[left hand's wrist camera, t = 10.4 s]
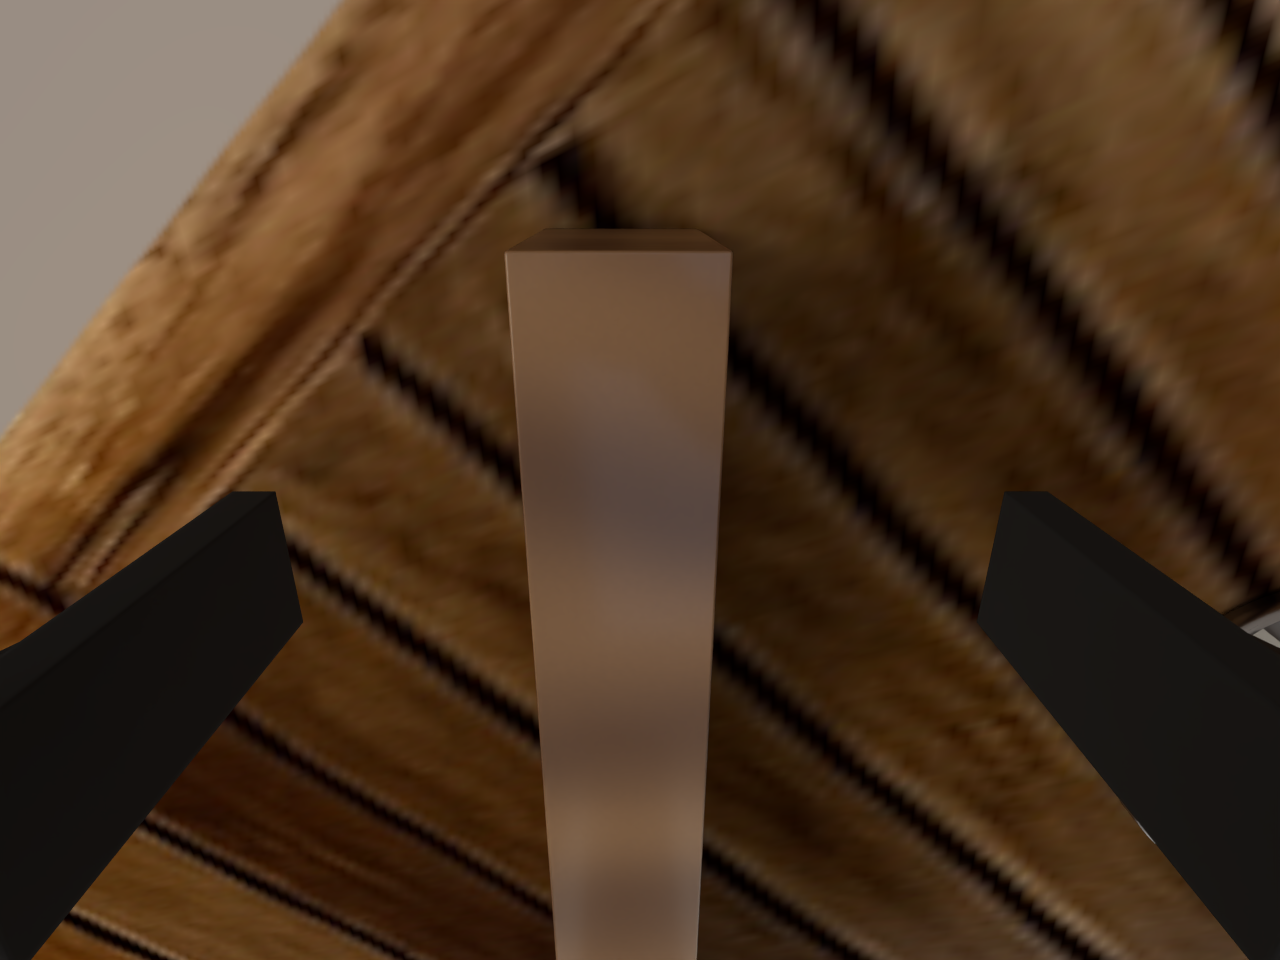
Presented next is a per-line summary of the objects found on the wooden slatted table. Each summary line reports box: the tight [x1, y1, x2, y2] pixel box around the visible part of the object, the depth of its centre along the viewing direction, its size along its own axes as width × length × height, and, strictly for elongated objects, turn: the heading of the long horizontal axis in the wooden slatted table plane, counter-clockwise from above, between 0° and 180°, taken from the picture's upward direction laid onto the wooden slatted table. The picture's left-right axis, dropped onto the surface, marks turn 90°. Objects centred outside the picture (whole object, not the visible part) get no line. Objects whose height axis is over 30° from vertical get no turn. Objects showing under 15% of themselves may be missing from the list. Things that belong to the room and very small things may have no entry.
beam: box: [504, 229, 733, 960], centre depth 30 cm, size 59×5×8 cm, turn 0°
